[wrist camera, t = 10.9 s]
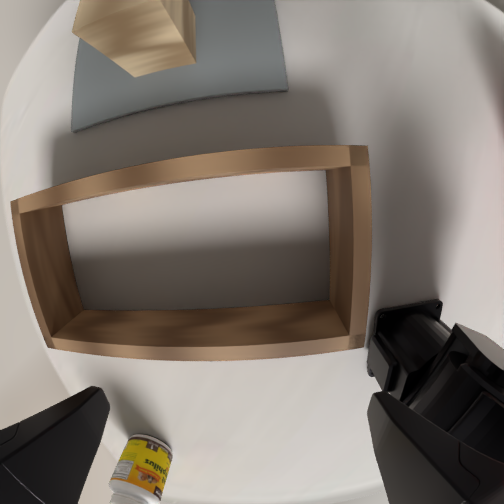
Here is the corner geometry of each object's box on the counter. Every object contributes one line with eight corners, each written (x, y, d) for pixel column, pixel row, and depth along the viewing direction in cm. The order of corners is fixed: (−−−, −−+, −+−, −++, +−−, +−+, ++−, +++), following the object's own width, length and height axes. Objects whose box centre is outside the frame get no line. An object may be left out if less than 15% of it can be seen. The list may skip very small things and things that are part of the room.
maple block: (195, 16, 13) (165, -52, 6) (196, 63, 15) (158, -2, 7) (137, 30, 14) (87, -23, 6) (134, 77, 15) (71, 32, 7)
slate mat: (270, -12, 13) (271, -15, 13) (287, 91, 15) (288, 89, 15) (83, 32, 14) (81, 30, 13) (74, 132, 16) (71, 131, 16)
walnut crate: (339, 154, 16) (367, 145, 12) (341, 310, 19) (363, 347, 14) (52, 194, 17) (10, 201, 13) (78, 319, 20) (47, 347, 15)
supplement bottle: (182, 457, 25) (165, 525, 15) (147, 457, 25) (126, 517, 15) (156, 430, 23) (130, 504, 13) (120, 432, 24) (91, 495, 14)
